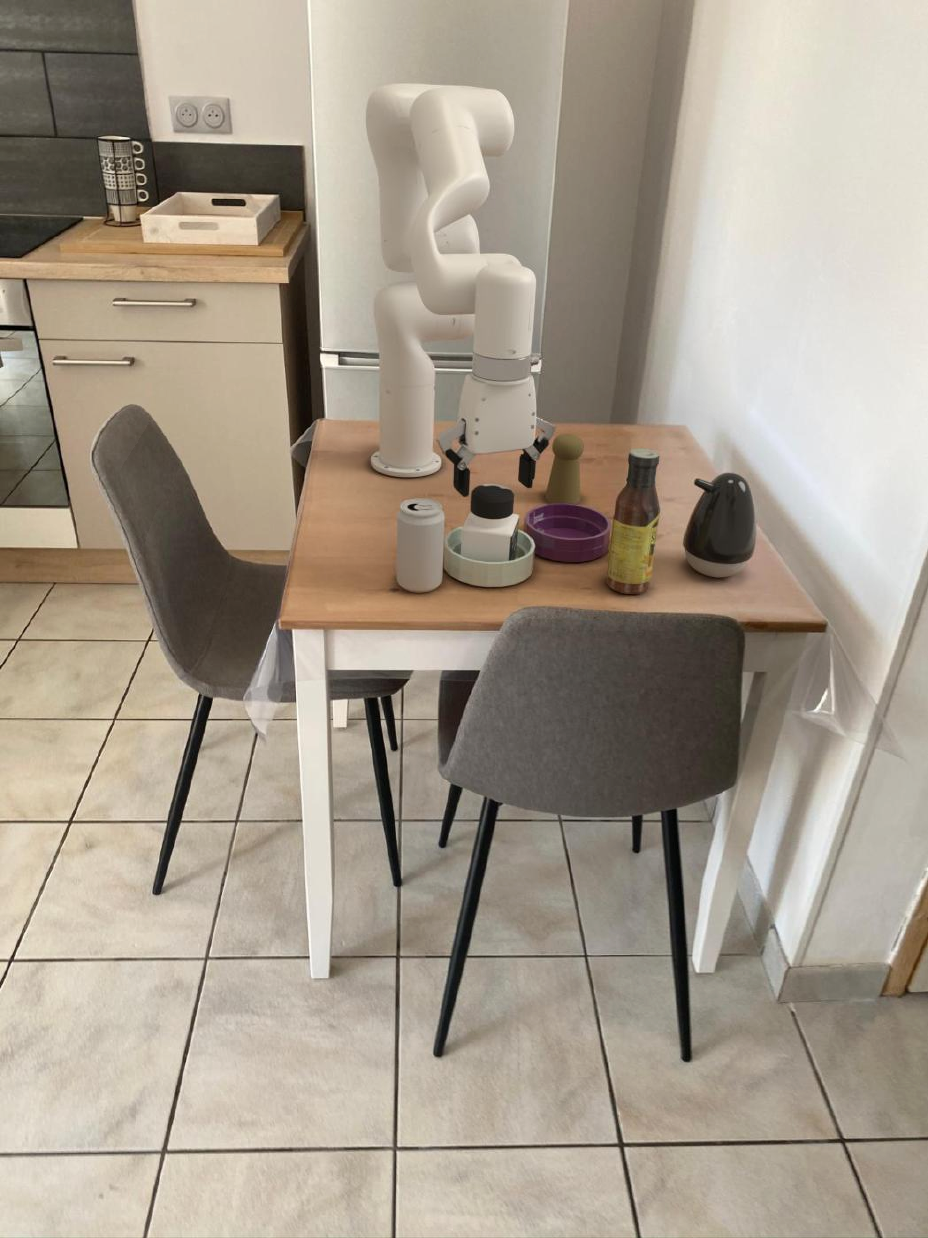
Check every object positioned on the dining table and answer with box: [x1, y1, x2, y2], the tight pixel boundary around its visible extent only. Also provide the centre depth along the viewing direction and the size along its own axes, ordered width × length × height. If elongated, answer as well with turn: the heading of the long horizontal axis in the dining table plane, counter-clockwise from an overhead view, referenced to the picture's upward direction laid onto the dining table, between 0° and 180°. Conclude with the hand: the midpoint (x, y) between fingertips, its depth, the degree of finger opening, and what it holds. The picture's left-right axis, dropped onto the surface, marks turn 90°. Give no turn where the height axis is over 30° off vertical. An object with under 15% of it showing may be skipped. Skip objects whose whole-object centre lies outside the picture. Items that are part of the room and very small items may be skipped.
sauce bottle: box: [606, 447, 661, 595], centre depth 132 cm, size 7×6×20 cm
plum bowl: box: [522, 503, 612, 563], centre depth 146 cm, size 13×13×4 cm
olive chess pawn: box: [544, 433, 585, 505], centre depth 159 cm, size 6×6×11 cm
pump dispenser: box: [682, 471, 757, 578], centre depth 138 cm, size 10×10×15 cm
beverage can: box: [396, 497, 446, 594], centre depth 131 cm, size 6×6×12 cm
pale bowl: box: [443, 525, 536, 588], centre depth 139 cm, size 13×13×4 cm
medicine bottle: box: [461, 483, 520, 562], centre depth 136 cm, size 7×7×12 cm
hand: (493, 488), depth 133 cm, fingers open, 9 cm apart
